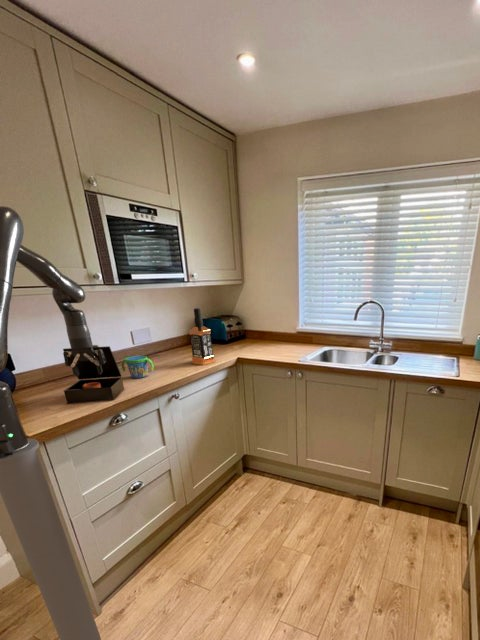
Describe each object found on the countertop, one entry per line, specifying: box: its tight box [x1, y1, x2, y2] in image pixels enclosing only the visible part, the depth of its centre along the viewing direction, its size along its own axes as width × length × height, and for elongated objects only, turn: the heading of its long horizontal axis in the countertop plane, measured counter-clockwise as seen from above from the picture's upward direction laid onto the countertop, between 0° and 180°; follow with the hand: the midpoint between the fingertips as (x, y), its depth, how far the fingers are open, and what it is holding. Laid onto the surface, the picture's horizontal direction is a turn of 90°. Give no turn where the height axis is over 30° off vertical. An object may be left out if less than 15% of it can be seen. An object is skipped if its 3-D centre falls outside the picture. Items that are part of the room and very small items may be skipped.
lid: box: [62, 344, 123, 381], centre depth 147 cm, size 16×18×5 cm
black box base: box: [63, 376, 125, 405], centre depth 145 cm, size 16×18×6 cm
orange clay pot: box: [83, 382, 101, 389], centre depth 142 cm, size 6×6×6 cm
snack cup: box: [121, 355, 155, 379], centre depth 172 cm, size 16×10×10 cm
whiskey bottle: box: [188, 307, 216, 366], centre depth 196 cm, size 10×10×32 cm
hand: (88, 374), depth 139 cm, fingers open, 8 cm apart
